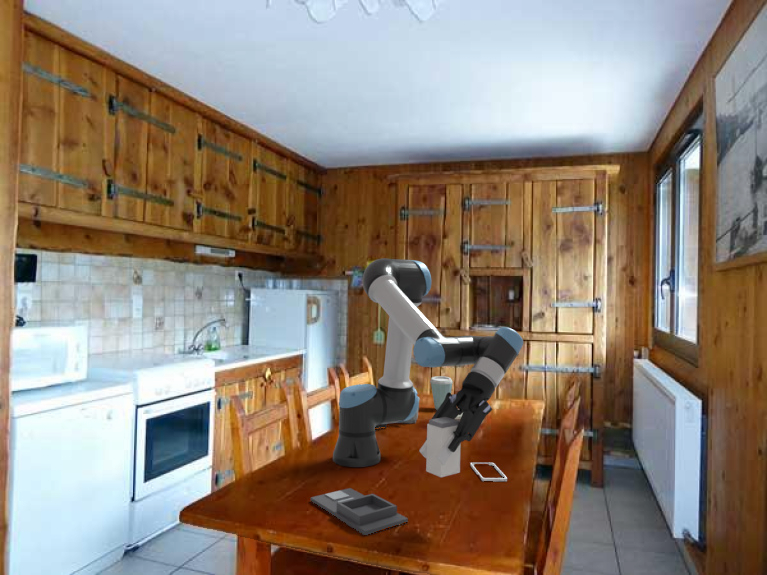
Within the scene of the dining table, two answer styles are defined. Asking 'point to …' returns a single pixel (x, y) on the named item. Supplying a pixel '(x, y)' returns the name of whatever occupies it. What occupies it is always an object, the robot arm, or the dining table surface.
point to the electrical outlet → (414, 418)
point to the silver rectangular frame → (489, 478)
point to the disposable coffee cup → (440, 389)
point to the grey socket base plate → (360, 510)
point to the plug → (436, 439)
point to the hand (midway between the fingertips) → (431, 457)
